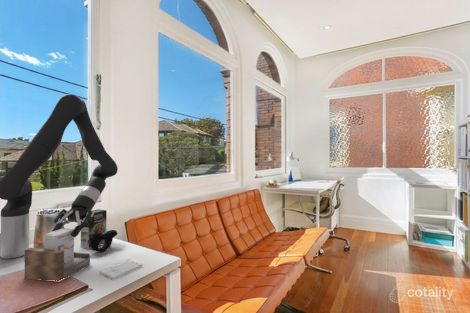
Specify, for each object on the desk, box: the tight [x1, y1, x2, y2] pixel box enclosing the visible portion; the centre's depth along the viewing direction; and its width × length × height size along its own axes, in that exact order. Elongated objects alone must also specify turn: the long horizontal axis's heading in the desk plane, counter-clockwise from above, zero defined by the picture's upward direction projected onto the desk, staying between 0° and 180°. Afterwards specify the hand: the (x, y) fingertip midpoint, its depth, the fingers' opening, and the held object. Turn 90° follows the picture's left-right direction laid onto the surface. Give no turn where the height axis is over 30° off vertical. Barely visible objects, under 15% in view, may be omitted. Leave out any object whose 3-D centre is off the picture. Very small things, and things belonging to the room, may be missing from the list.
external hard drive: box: [99, 259, 144, 281], centre depth 96 cm, size 2×8×12 cm
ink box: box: [43, 227, 75, 264], centre depth 94 cm, size 9×5×12 cm, turn 169°
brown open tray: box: [24, 247, 91, 281], centre depth 94 cm, size 14×14×10 cm
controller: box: [89, 229, 118, 253], centre depth 114 cm, size 4×12×10 cm, turn 149°
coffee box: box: [80, 208, 108, 250], centre depth 121 cm, size 9×6×16 cm
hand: (63, 235), depth 96 cm, fingers open, 8 cm apart
